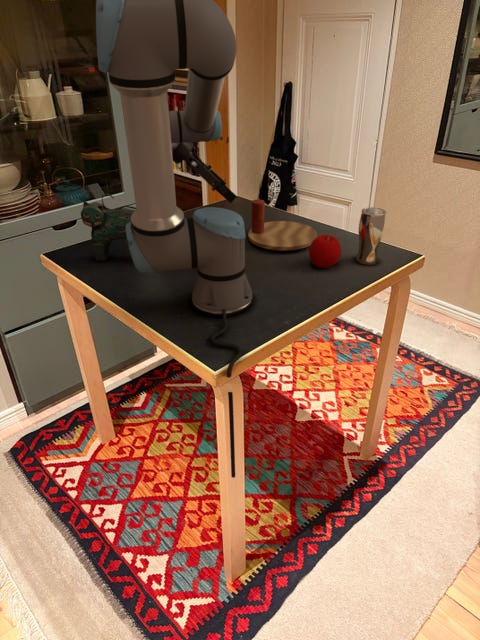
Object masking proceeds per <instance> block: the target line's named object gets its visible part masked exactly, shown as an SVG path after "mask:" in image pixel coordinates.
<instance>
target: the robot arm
mask: <svg viewBox="0 0 480 640" xmlns="http://www.w3.org/2000/svg"><path fill="white" fill-rule="evenodd" d="M95 1H96V2H95V29H96V32H95V33H96V34H95V35H96V55H97V63H98V70H99V71H100V72H103V73H104V74H108V81H109V84H110V85H111V86H112V87H113V88H114V89H115V90H116V91H118V92H119V96H120V104H121V109H122V110H121V111H122V116H123V124H124V131H125V137H126V138H125V139H126V144H127V152H128V153H127V154H128V159H129V166H130V173H131V180H132V188H133V195H134V202H135V208H136V209H134V210H135V211H134V212H133V214H132V215H131V222H129V223H127V224H126V236H127V239H126V240H127V244H128V249H129V253H130V257H131V259H132V262H133V265H134V267H135V269H136V270H137V271H138V272H139V273H143V274H146V273H149V274H150V273H155V274H158V273H160V272H163V273H164V272H172V271H183V270H190V269H191V270H192V269H197V270H196V271H197V273H196V274H197V276H196V279H195V281H194V282H195V283H194V286H193V290H192V294H191V303H192V307H193V308H194V310H196V311H197V312H199V313H201V314H203V315H205V316H209V317H210V316H211V317H218V318H219V317H221V318H222V323H223V327H222V329H220V330H219V331H217V332H215V333H213V334H211V335H210V342H211V343H212V344H213V345H215V346H219V347H224V348H230V349H234V350H236V351H237V354H236V355H235V356H234V357H233V358H232V359H231V360H230V362H229V363H228V366H227V369H226V377H227V378H228V379H229V378H231V377H232V371H233V367H234V366H235V364H236V363H237V362H238V360H239V359H241V358H242V356H243V350H242V348H241V347H240V346H239V345H237V344H235V343H230V342H223V341H220V340H219V341H218V340H216V338H217V337H219V336H221V335H223V334H224V333H226V331H227V330H228V327H229V325H228V320H227V317H230V316H231V317H233V316H236V315H240V314H241V313H243V312H245V311H247V310H248V309H250V308H251V306H252V304H253V300H254V299H253V295H254V294H253V290H252V288H251V284H250V282H249V280H248V277H247V273H246V237H247V235H246V230H245V229H246V228H245V222H244V219H243V217H242V215H240V214H239V213H238V212H235V211H234V210H232V209H227V208H223V207H216V206H215V207H213V206H206V207H201V208H197V209H196V210H194V211H193V214H192V217H187V218H186V217H185V213H184V211H183V210H182V209H181V208H180V207H178V206H177V198H176V197H177V196H176V184H175V182H176V181H175V172H174V170H175V169H174V163H175V164H177V165H178V164H181V163H183V161H185V164H186V166H187V167H188V168H189V169H190V170H193V172H195V173H196V175H199V176H200V177H201V178H202V179H203V180H204V181H205V182H206V183H207V184H208V185H209V186H210V187H211V191H213V192H215V191H216V192H217V193H218V194H220V196H222V197H223V198H224V199H225V200H226V201H228V203H230V204H232V203H233V202H234V200H235V199H236V198H237V197H238V196H237V194H235V193H234V192H233V191H232V190H231V189H230V188H229V187H228V186H227V182H226V181H225V180H224V179H222V178H221V176H220V175H218V174H217V173H216V172H215V171H214V170H213V169H212V168H213V167H212V165H211V164H209V165H208V164H207V163H205V162H204V161H202V159H201V158H200V157H199V155H198V154H197V153H196V152H193V151H192V150H193V148H194V143H204V142H205V143H209V142H211V141H212V142H213V141H219V140H220V139H221V138H222V133H223V132H222V131H223V122H222V114H221V112H220V111H219V110H218V108H219V104H220V100H221V97H222V92H223V88H224V85H225V79H226V77H227V76H228V75H229V74H230V73H231V71H232V70H233V69H234V66H235V65H234V64H235V62H236V55H237V39H236V35H235V31H234V29H233V25H232V24H231V22H230V20H229V18H228V16H227V14H226V13H225V12H224V11H223V9H222V8H221V7H220V6H219V5H218V4H217V3H216V2H215V1H214V0H95ZM175 70H187V81H186V83H187V84H186V95H185V107H184V110H172V111H170V109H169V96H168V91H169V89H170V88H171V87H172V85H174V83H175V81H176V78H175V77H176V75H175ZM227 395H228V396H227V398H228V417H229V418H228V419H229V421H228V422H229V445H230V447H229V448H230V475H231V478H236V453H235V450H236V449H235V423H234V422H235V420H234V419H235V418H234V417H235V416H234V395H233V391H227Z"/></svg>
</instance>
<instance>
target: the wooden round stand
mask: <svg viewBox="0 0 480 640" xmlns="http://www.w3.org/2000/svg"><path fill="white" fill-rule="evenodd" d="M247 236H248V240H249V242H251V243H252V244H253V245H255V246H257V247H259V248H262V249H266V250H270V251H271V250H272V251H295V250H302V249H306V248H308V247H310V245H311V243H312V242H313V241H314V240H315V239H316V238H317V237H318V232H317V231H316V229H314V227H312V226H309V225H308V224H304V223H301V222H298V221H297V222H296V221H290V220H289V221H288V220H273V221H265V200H264V199H253V200H251V228H250V229H249V230H248V233H247Z"/></svg>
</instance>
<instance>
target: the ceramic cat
mask: <svg viewBox="0 0 480 640" xmlns="http://www.w3.org/2000/svg"><path fill="white" fill-rule="evenodd" d="M105 196H109V197H110V198H112V199H113V200H114V199H115V197H114V196H113V195H112V194H110V193H104V194H102V196H101V202H97V201H94V202H91V203H89V202H87V201H83V203H82V210H81V211H80V218H81V221H82V223H83V224H84V225H85V226H87V227H89V228H91V233H90V237H91V241H92V249H93V253H94V258H95V261H96V262H97V261H98V262H105V261H107V260H108V259H109V257H111V253H110V245H111V242H112V241H116V240H127V236H126V224H127V223H129V222H131V215H132V214H133V212H134V211H135V210H136V206H131V205H123V206H120V207H116V208H109V207H107V206H106V205H105V203H104V200H103V199H104V197H105Z"/></svg>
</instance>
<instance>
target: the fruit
mask: <svg viewBox="0 0 480 640" xmlns="http://www.w3.org/2000/svg"><path fill="white" fill-rule="evenodd" d="M331 233H332V232H330V231H329V232H328V234H321V235H319V236H317V238H316V239H315V240H314V241H313V242H312V243H311V245H310V246H309V248H308V255H309V259H310V261H311V263H312V264H313V265H314V266H316V267H318V268H321V269H326V268H329V267H333V266H335V265H336V264H337V263H338V262H339V259H340V258H341V254H342V246H341V243H340V242H339V240H338V238H336V237H335V236H333V235H331Z"/></svg>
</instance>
